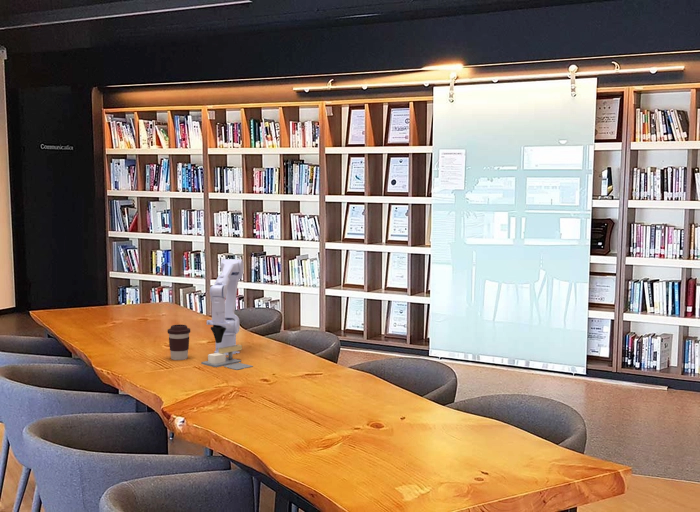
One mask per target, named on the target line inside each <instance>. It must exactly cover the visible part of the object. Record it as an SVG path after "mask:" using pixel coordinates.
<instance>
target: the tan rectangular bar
mask: <svg viewBox="0 0 700 512" xmlns="http://www.w3.org/2000/svg"><path fill="white" fill-rule="evenodd" d="M241 350H242V351H243V345H242V344H236V345H233V346H227V347H222V348H219V353H227V352H233V351H238V352H239V351H241Z"/></svg>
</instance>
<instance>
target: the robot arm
mask: <svg viewBox="0 0 700 512" xmlns="http://www.w3.org/2000/svg"><path fill="white" fill-rule="evenodd" d="M219 267H220V271H221V274H220V275H218V276H217V278H216V280H215V282H214V284H213V285H211V286H210V287H209V296H210V303H211V319H208V320H206V326H209V325H210V330H211V332H212V333H213V338H214V340H215V350H214V351H213V353H219V348H222V347H227V346H233V345H237V341H236V340H237V334H238V333H239V332H240V317H239V316H238V315H236V313H235V310H236V303H237V302H236V301H237V294H238V284H239V280H240V279H241V280H242V278H243V276H244V261H243V259H242V258H240V259H238V258H237V259H235V258H234V259H233V258H231V259H229V258H222V259H221V260H220V266H219ZM236 353H237V354H240V353H241V352H240V351H239V350H238V351H233V355H236ZM224 354H226V356H228V352H227V353H224Z"/></svg>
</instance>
